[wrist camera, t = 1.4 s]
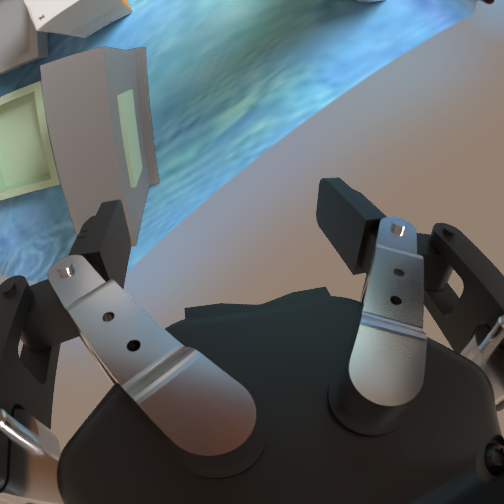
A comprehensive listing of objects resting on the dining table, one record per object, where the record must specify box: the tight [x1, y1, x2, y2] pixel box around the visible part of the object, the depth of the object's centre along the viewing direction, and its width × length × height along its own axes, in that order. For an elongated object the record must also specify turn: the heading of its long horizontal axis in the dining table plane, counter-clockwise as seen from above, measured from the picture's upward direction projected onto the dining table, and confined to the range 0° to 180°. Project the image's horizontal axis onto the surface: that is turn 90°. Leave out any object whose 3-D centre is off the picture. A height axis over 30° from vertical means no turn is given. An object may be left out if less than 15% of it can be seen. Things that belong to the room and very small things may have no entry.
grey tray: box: [0, 0, 49, 76], centre depth 17 cm, size 11×13×3 cm
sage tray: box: [0, 81, 61, 200], centre depth 27 cm, size 11×13×3 cm
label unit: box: [40, 46, 159, 246], centre depth 25 cm, size 7×17×15 cm, turn 1°
